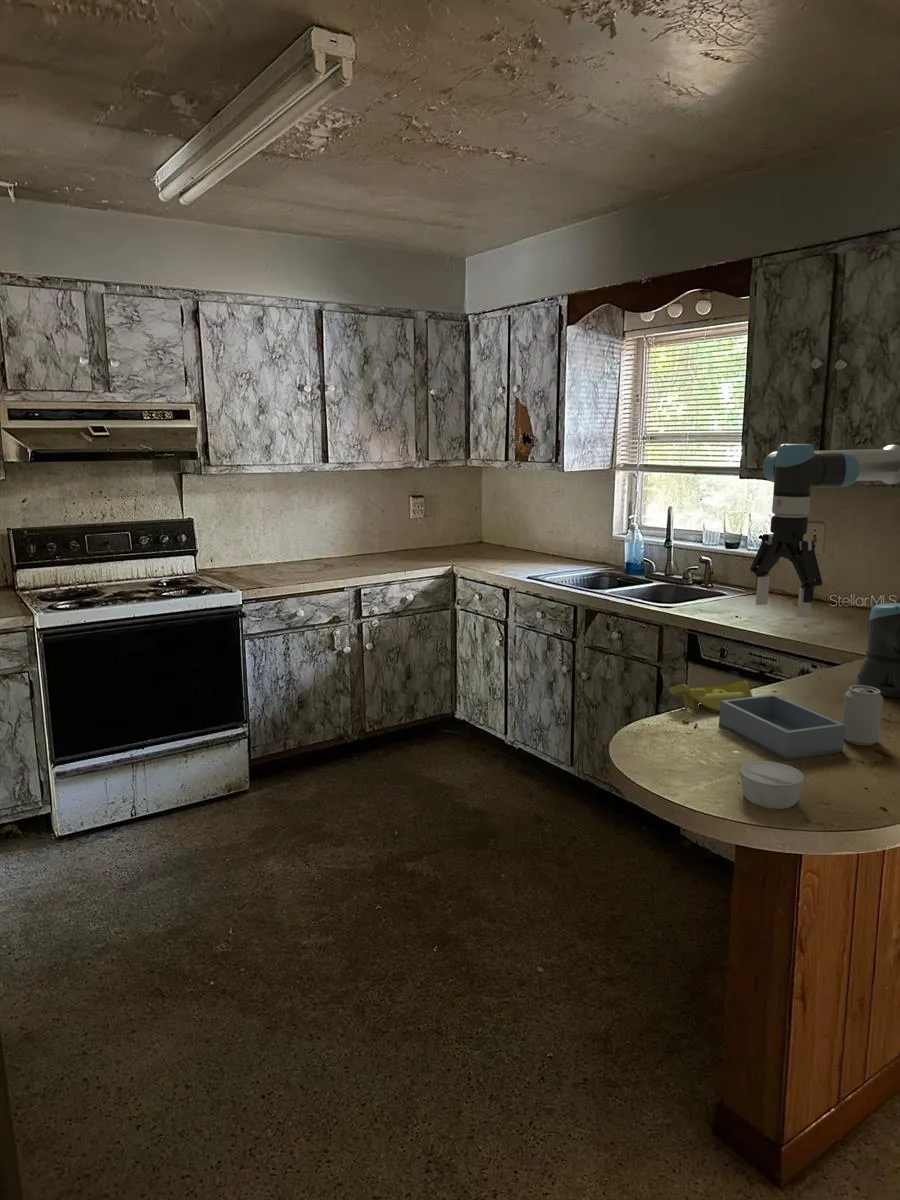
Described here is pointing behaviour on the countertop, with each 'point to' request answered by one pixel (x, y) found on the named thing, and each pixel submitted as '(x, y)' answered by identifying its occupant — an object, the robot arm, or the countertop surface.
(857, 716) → the can
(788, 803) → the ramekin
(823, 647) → the countertop surface
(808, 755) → the bin
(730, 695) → the plastic component
